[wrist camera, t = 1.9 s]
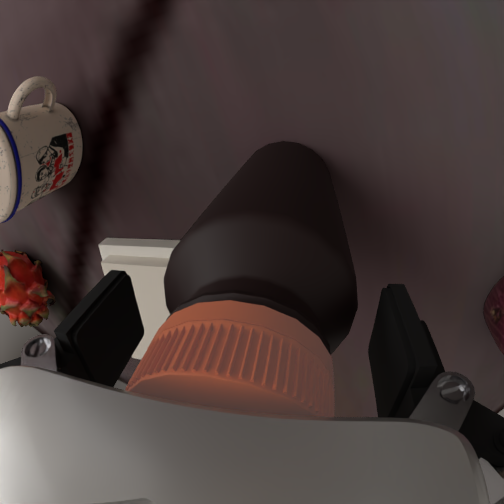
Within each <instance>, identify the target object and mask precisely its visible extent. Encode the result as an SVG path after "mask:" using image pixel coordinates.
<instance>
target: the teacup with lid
mask: <svg viewBox="0 0 504 504" xmlns="http://www.w3.org/2000/svg"><path fill="white" fill-rule="evenodd" d="M41 87H44V90H45V97H44V101H43V103H42V104H37V105H32V106H27V107H22V104H23V102H24V100H25V99H26V97H27V96H28V95H29V94H30V93H31V92H32V91H33V90H35V89H37V88H41ZM56 96H57V92H56V88H55V86H54V84H53V83H52V82H51V81H50V80H48V79H46V78H44V77H39V76H38V77H32V78H29V79H27V80H26V81H24V82H23V83H22V84H21V85H20V86H19V87H18V89H17V90H16V91H15V93H14V94H13V96H12V99H11V101H10V104H9V108H8V111H5V112H1V113H0V223H3V222H6V221H8V220H9V219H11V218H12V217H13V215H14V214H15V213H16V212H17V211H19V210H21V209H22V208H24V207H26V206H28V205H29V204H31V203H33V202H35V201H36V200H38V199H40V198H42V197H44V196H46V195H47V194H49V193H51V192H53V191H55V190H57V189H59V188H61V187H62V186H64V185H66V184H67V183H69V182H70V181H71V180H72V179H73V177H74V176H75V174H76V173H77V171H78V169H79V166H80V163H81V159H82V150H83V144H82V135H81V131H80V128H79V125H78V123H77V120H76V119H75V117H74V115H73V114H72V113H71V112H70V111H69V110H68V109H67V108H66V107H65V106H63V105H61V104H59V103H55V101H56ZM21 107H22V108H21Z"/></svg>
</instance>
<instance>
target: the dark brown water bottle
mask: <svg viewBox="0 0 504 504" xmlns="http://www.w3.org/2000/svg"><path fill="white" fill-rule="evenodd" d="M164 291H165V301H166V306H167V309H168V311H169V313H170V315H169V316H168V317H167V319H166V321H165V322H164V323H163V324H162V325H161V327H160V328H159V329H158V331H157V332H156V334H155V336H154V338H153V339H152V341H151V343H150V345H149V346H148V348H147V351H146V352H145V354H144V356H143V358H142V359H141V361H140V363H139V365H138V367H137V368H136V370H135V372H134V374H133V376H132V377H131V379H130V381H129V383H128V385H127V387H126V391H130V392H134V393H139V394H143V395H148V396H152V397H157V398H162V399H167V400H172V401H178V402H183V403H189V404H195V405H201V406H208V407H214V408H222V409H229V410H238V411H247V412H256V413H267V414H279V415H295V416H319V417H335V395H334V373H333V363H332V357H331V354H332V353H333V352H334V351H335V349H336V348H337V347H338V346H339V345H340V344H341V342H342V341H343V340H344V339H345V338H346V336H347V335H348V334H349V331H350V329H351V326H352V323H353V320H354V317H355V314H356V311H357V308H358V301H357V286H356V276H355V271H354V267H353V262H352V258H351V253H350V249H349V245H348V241H347V237H346V233H345V229H344V225H343V221H342V217H341V213H340V209H339V205H338V202H337V198H336V194H335V191H334V187H333V184H332V180H331V177H330V173H329V171H328V169H327V167H326V165H325V164H324V162H323V160H322V159H321V158H320V157H319V156H318V155H317V154H316V153H315V152H314V151H313V150H311V149H309V148H307V147H305V146H303V145H301V144H299V143H293V142H285V141H282V142H277V143H272V144H268V145H266V146H264V147H263V148H261V149H259V150H257V151H256V152H255V153H254V154H253V155H252V156H251V157H250V158H249V160H248V161H247V162H246V163H245V164H244V165H243V166H242V168H241V169H240V170H239V171H238V172H237V173H236V174H235V176H234V177H233V178H232V179H231V180H230V181H229V183H228V184H227V185H226V186H225V187H224V188H223V190H222V191H221V192H220V193H219V194H218V195H217V197H216V198H215V199H214V200H213V201H212V203H211V204H210V205H209V206H208V207H207V209H206V210H205V211H204V212H203V213H202V215H201V216H200V217H199V218H198V219H197V221H196V222H195V223H194V224H193V226H192V227H191V228H190V229H189V231H188V232H187V233H186V234H185V235H184V237H183V238H182V239H181V240H180V242H179V243H178V244H177V245H176V247H175V248H174V249H173V251H172V253H171V255H170V258H169V262H168V265H167V268H166V272H165V275H164Z"/></svg>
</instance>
